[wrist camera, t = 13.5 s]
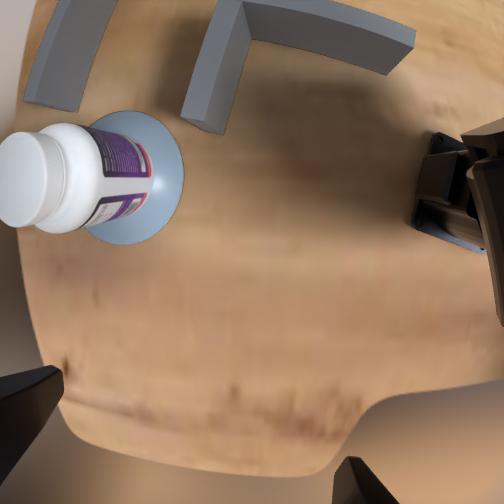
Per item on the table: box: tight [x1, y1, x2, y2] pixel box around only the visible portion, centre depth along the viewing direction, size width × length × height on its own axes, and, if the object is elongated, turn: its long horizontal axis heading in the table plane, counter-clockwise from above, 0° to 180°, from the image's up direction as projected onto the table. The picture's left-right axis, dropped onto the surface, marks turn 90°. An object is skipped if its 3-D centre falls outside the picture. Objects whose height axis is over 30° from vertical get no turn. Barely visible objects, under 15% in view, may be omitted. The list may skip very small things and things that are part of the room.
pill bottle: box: [0, 123, 154, 234], centre depth 15 cm, size 5×5×10 cm
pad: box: [85, 111, 184, 245], centre depth 20 cm, size 9×9×1 cm
